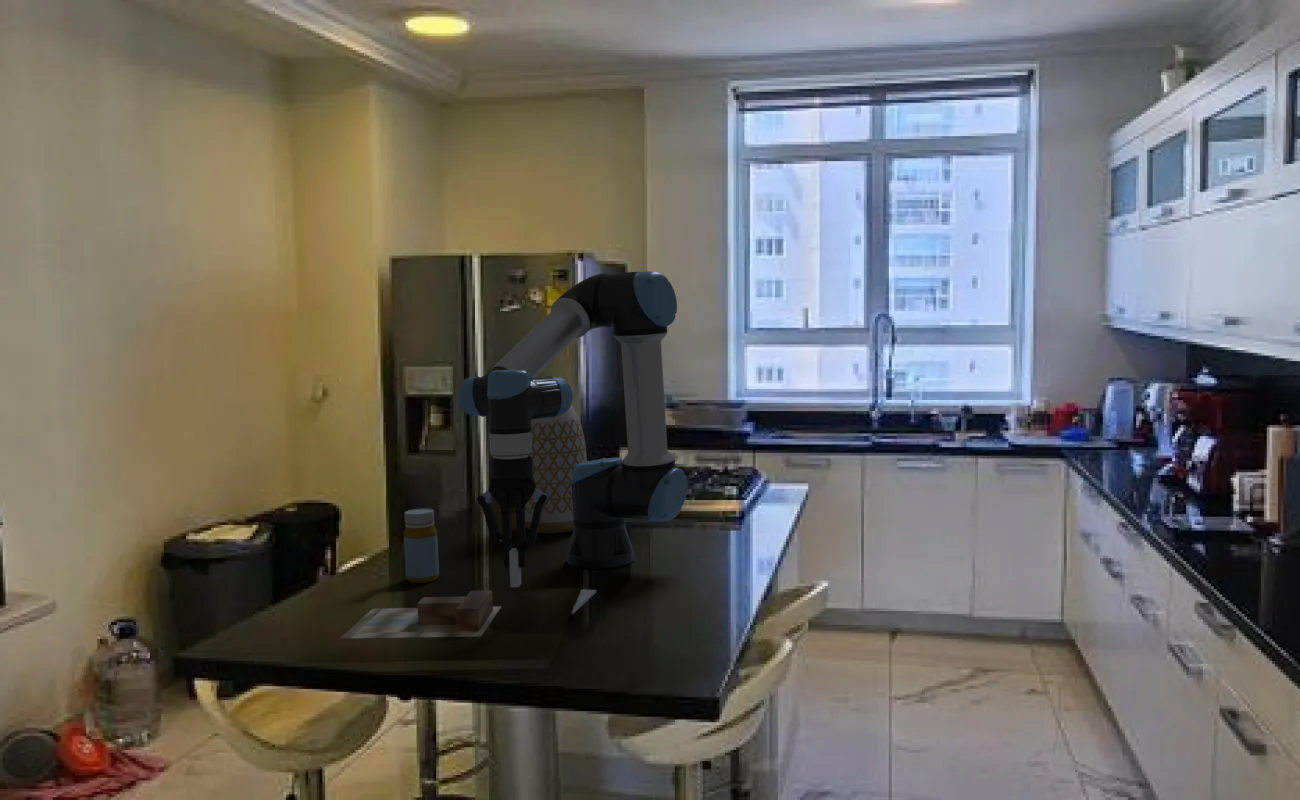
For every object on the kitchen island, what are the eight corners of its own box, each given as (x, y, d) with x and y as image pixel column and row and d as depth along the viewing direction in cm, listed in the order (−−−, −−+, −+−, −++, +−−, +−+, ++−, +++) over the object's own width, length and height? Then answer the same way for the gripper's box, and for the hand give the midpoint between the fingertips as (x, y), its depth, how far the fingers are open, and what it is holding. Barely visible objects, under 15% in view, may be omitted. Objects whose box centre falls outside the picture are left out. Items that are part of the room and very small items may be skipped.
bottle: (431, 584, 222) (427, 514, 221) (400, 583, 223) (397, 514, 222) (444, 575, 229) (440, 508, 227) (414, 575, 230) (410, 508, 229)
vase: (529, 521, 284) (523, 382, 281) (596, 521, 281) (590, 381, 278) (510, 537, 266) (503, 388, 262) (582, 537, 263) (576, 386, 260)
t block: (493, 611, 196) (491, 590, 196) (479, 630, 184) (478, 608, 184) (430, 612, 197) (428, 591, 197) (412, 632, 185) (410, 609, 185)
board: (501, 612, 199) (501, 606, 199) (481, 642, 181) (481, 636, 181) (372, 614, 201) (372, 608, 201) (340, 645, 183) (339, 638, 183)
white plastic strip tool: (547, 614, 198) (547, 609, 198) (573, 593, 213) (573, 588, 213) (573, 615, 197) (572, 609, 197) (597, 594, 211) (596, 589, 211)
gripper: (550, 452, 191) (554, 579, 192) (479, 453, 191) (484, 580, 193) (544, 458, 183) (548, 590, 185) (470, 459, 184) (475, 591, 186)
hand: (515, 585), depth 189 cm, fingers closed
